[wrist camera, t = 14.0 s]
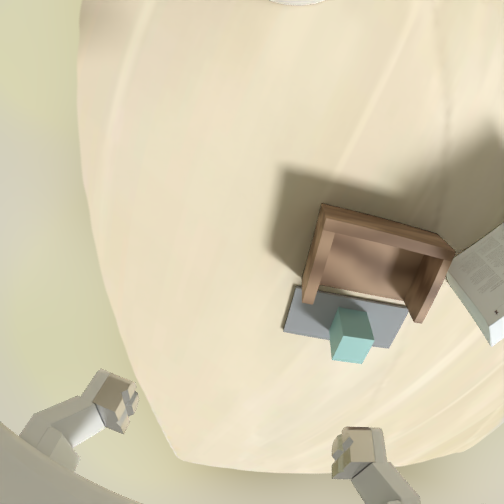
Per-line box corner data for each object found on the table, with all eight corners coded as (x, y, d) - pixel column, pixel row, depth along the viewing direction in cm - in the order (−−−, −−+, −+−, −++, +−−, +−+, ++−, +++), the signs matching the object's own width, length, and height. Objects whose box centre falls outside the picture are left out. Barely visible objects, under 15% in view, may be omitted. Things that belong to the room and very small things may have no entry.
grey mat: (296, 285, 45) (296, 287, 44) (408, 307, 44) (409, 309, 43) (283, 329, 49) (283, 331, 48) (387, 346, 48) (388, 348, 47)
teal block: (338, 307, 45) (343, 335, 39) (366, 312, 45) (374, 340, 38) (329, 330, 47) (331, 359, 41) (356, 334, 47) (361, 363, 40)
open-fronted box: (321, 203, 39) (326, 218, 33) (437, 233, 38) (455, 251, 32) (301, 278, 44) (301, 302, 38) (409, 299, 43) (421, 323, 37)
